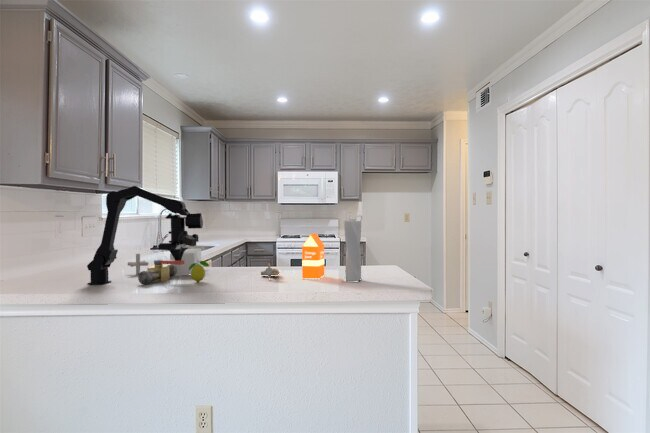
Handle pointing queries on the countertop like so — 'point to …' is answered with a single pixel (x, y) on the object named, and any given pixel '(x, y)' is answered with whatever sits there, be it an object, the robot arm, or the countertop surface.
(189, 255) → the storage container
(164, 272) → the valve body
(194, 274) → the lemon
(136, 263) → the pipe connector
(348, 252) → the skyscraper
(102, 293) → the countertop surface
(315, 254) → the orange juice
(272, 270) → the valve
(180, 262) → the lever
